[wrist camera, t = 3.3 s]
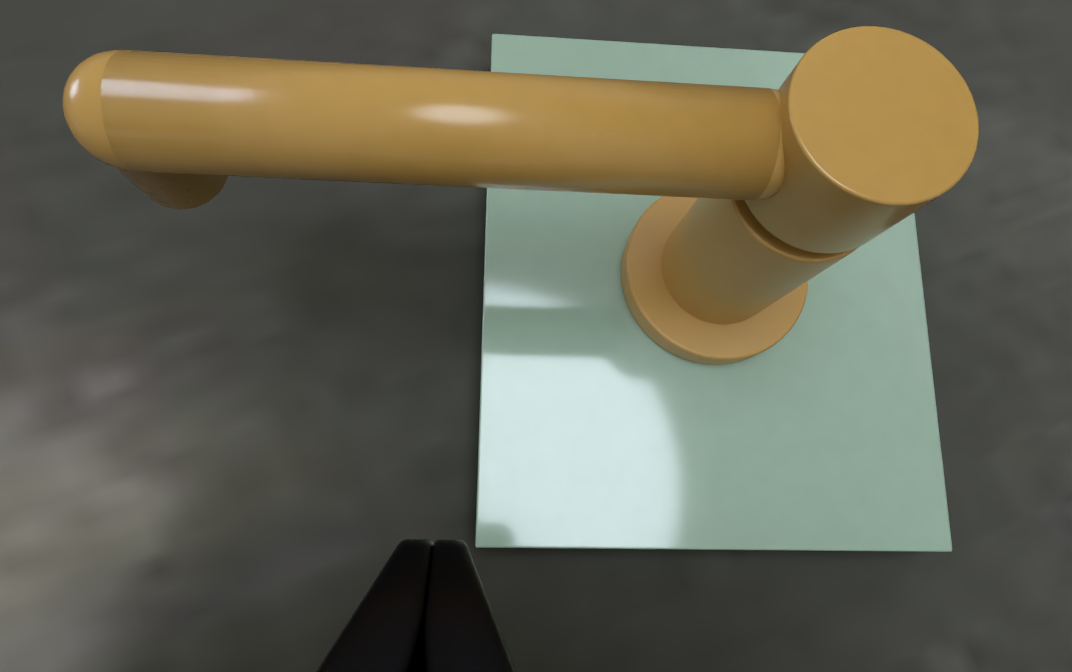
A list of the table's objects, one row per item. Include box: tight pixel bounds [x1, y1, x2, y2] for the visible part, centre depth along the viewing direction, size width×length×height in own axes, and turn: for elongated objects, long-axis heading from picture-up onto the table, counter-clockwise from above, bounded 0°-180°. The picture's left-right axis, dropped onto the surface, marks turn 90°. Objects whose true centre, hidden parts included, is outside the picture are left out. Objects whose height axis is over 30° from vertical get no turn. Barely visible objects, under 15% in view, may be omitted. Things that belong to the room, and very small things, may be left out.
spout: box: [63, 26, 979, 253], centre depth 12 cm, size 14×3×3 cm, turn 89°
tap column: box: [621, 196, 859, 365], centre depth 16 cm, size 5×5×6 cm
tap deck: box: [475, 34, 952, 552], centre depth 19 cm, size 14×12×2 cm
